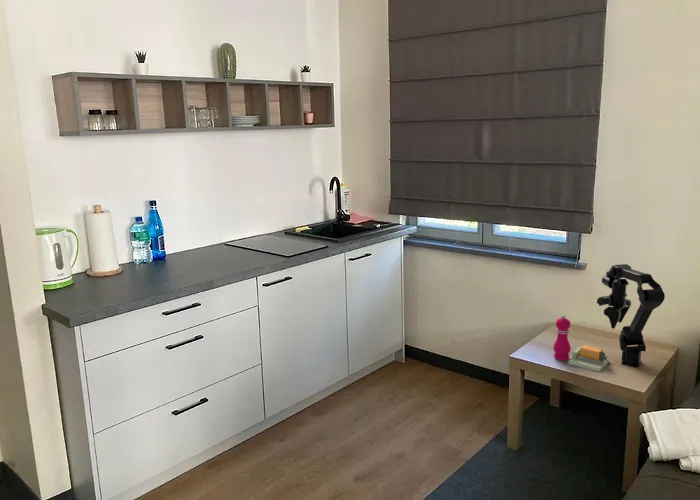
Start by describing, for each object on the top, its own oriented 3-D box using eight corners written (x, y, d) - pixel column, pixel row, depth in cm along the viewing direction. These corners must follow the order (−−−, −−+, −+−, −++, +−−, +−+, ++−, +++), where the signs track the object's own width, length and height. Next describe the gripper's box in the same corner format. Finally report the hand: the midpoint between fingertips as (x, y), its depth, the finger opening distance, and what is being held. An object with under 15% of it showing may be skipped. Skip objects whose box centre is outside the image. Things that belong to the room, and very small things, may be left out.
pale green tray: (608, 361, 252) (609, 352, 251) (599, 371, 243) (600, 361, 242) (578, 354, 260) (579, 345, 259) (568, 363, 252) (568, 354, 251)
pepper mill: (557, 353, 263) (559, 311, 259) (573, 357, 258) (575, 314, 253) (549, 358, 258) (551, 315, 254) (565, 362, 253) (567, 319, 249)
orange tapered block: (605, 360, 250) (605, 349, 249) (601, 363, 247) (602, 352, 246) (583, 355, 256) (583, 344, 255) (579, 358, 253) (580, 347, 252)
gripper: (606, 284, 269) (604, 316, 273) (592, 294, 256) (590, 327, 259) (632, 288, 262) (630, 320, 265) (619, 298, 248) (616, 333, 252)
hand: (616, 325), depth 261 cm, fingers open, 9 cm apart
